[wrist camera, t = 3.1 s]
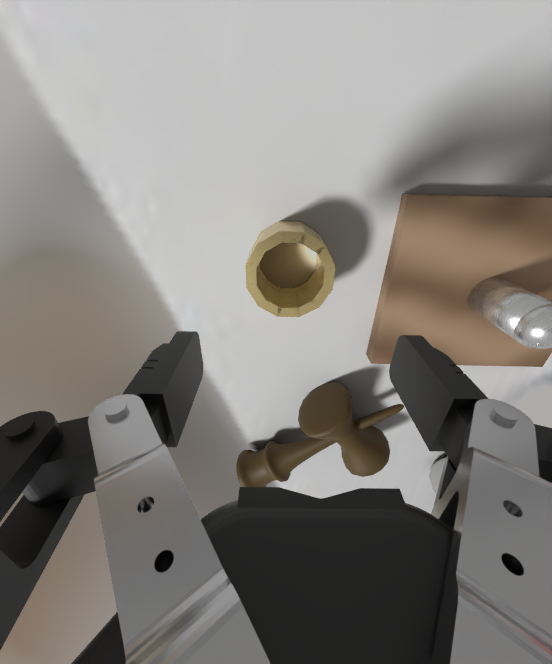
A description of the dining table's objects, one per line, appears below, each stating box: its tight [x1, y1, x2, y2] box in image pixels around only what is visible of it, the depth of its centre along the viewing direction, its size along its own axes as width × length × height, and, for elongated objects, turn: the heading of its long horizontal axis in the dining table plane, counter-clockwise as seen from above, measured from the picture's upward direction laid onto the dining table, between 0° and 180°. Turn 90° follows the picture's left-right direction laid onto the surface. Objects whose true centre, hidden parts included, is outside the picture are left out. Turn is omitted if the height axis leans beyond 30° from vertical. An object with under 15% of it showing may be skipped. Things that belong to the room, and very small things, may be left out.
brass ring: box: [246, 221, 335, 317], centre depth 20 cm, size 6×6×4 cm
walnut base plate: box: [366, 194, 552, 367], centre depth 22 cm, size 14×16×2 cm
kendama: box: [237, 382, 404, 487], centre depth 30 cm, size 6×10×20 cm
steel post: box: [468, 277, 552, 349], centre depth 19 cm, size 3×3×6 cm
